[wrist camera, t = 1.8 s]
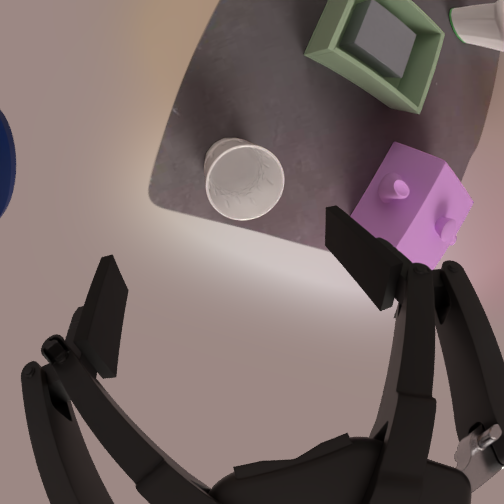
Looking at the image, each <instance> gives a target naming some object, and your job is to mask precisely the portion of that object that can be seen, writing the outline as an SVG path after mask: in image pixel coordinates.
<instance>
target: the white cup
mask: <svg viewBox="0 0 504 504" xmlns="http://www.w3.org/2000/svg"><path fill="white" fill-rule="evenodd" d="M204 177H205V185H206V192H207V196H208V199H209V201H210V203H211V204H212V206H213V207H214V208H215V209H216V210H217V211H218V212H219V213H220V214H222V215H224V216H226V217H228V218H231V219H234V220H250V219H254V218H257V217H260V216H262V215H264V214H265V213H267V212H268V211H269V210H271V209H272V208H273V207H274V205H275V204H276V203H277V202H278V200H279V198H280V196H281V194H282V191H283V188H284V172H283V169H282V166H281V164H280V162H279V160H278V159H277V158H276V157H275V155H274V154H272V153H271V152H270V151H268V150H267V149H265V148H263V147H260V146H258V145H256V144H254V143H251V142H249V141H246V140H243V139H238V138H223V139H221V140H219V141H217V142H215V143H214V144H213V145H212V146H211V147H210V149H209V150H208V151H207V153H206V157H205V162H204Z"/></svg>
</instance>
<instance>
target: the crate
mask: <svg viewBox="0 0 504 504" xmlns="http://www.w3.org/2000/svg"><path fill="white" fill-rule="evenodd" d="M363 1H366V0H328V2H327V4H326V6H325V8H324V10H323V12H322V15H321V17H320V19H319V21H318V23H317V26H316V28H315V30H314V32H313V34H312V37H311V39H310V41H309V43H308V46H307V48H306V50H305V52H304V55H305V56H307V57H308V58H310V59H312V60H314V61H316V62H318V63H320V64H322V65H324V66H325V67H327V68H329V69H331V70H332V71H334V72H336V73H338V74H339V75H341V76H343V77H344V78H346V79H348V80H349V81H351V82H352V83H354V84H355V85H357V86H359V87H360V88H362V89H363V90H365V91H366V92H368V93H369V94H371V95H372V96H374V97H375V98H376V99H378V100H379V101H381V102H382V103H383V104H385V105H386V106H387V107H389V108H390V109H396V110H401V111H406V112H411V113H416V114H420V112H421V109H422V107H423V104H424V101H425V98H426V95H427V92H428V89H429V86H430V83H431V80H432V77H433V74H434V71H435V68H436V64H437V61H438V57H439V54H440V50H441V47H442V43H443V39H444V35H445V34H444V32H443V31H442V30H441V29H440V28H439V27H438V26H437V25H436V24H435V23H434V22H433V21H432V20H431V19H430V18H429V17H428V16H427V15H426V14H425V13H424V12H423V11H422V10H421V9H420V8H419V7H418V6H417V5H416V4H415V3H414V2H413V1H411V0H375V1H376V2H378V3H379V4H380V5H382V6H383V7H384V8H385V9H387V10H388V11H389V12H391V13H392V14H393V15H394V16H395V17H397V18H398V19H399V20H400V21H401V22H403V23H404V24H405V25H406V26H407V27H408V28H409V29H411V30H412V31H413V32H414V33H415V34H416V38H415V41H414V44H413V47H412V50H411V53H410V56H409V59H408V62H407V65H406V68H405V70H404V73H403V76H402V78H389V77H384V76H382V75H381V74H380V73H378V72H377V71H376V70H374V69H373V68H371V67H370V66H369V65H367V64H366V63H364V62H363V61H361V60H360V59H358V58H357V57H355V56H354V55H352V54H351V53H349V52H348V51H346V50H344V49H343V48H341V47H339V44H340V42H341V40H342V37H343V35H344V32H345V30H346V28H347V25H348V23H349V21H350V18H351V16H352V13H353V11H354V9H355V6H356V4H358V3H361V2H363Z"/></svg>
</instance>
